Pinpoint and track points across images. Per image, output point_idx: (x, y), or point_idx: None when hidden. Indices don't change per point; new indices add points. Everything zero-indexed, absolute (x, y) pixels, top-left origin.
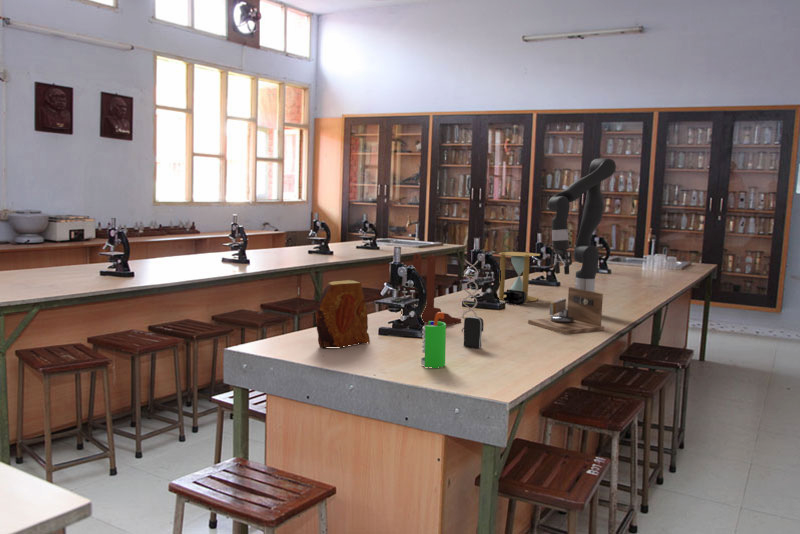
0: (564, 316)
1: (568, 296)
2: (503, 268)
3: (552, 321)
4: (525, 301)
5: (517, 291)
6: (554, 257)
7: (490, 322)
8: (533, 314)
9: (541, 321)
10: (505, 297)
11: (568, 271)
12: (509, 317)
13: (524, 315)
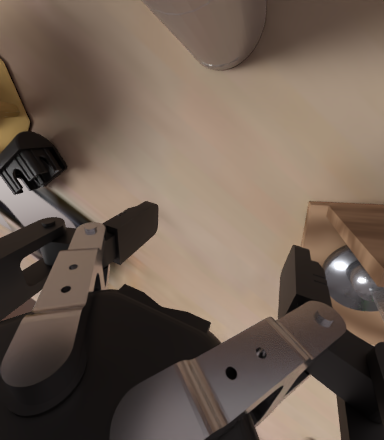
0: None
1: (357, 256)
2: None
3: None
4: (25, 117)
5: (10, 159)
6: (7, 295)
7: None
8: (191, 225)
9: None
10: (26, 184)
11: (320, 280)
12: (207, 300)
13: (196, 255)
